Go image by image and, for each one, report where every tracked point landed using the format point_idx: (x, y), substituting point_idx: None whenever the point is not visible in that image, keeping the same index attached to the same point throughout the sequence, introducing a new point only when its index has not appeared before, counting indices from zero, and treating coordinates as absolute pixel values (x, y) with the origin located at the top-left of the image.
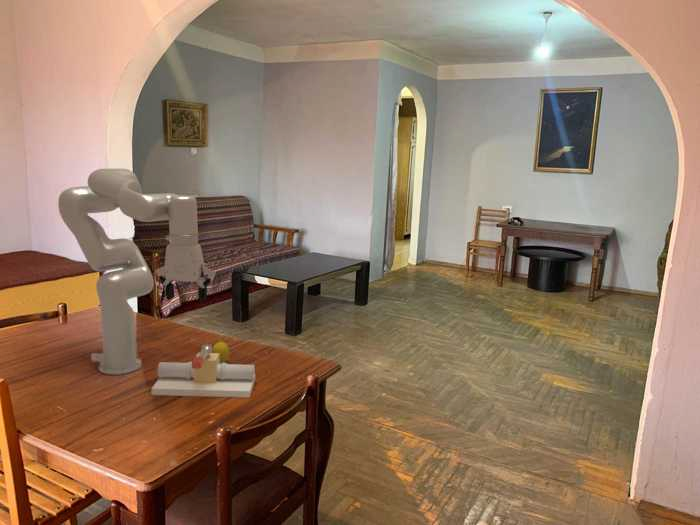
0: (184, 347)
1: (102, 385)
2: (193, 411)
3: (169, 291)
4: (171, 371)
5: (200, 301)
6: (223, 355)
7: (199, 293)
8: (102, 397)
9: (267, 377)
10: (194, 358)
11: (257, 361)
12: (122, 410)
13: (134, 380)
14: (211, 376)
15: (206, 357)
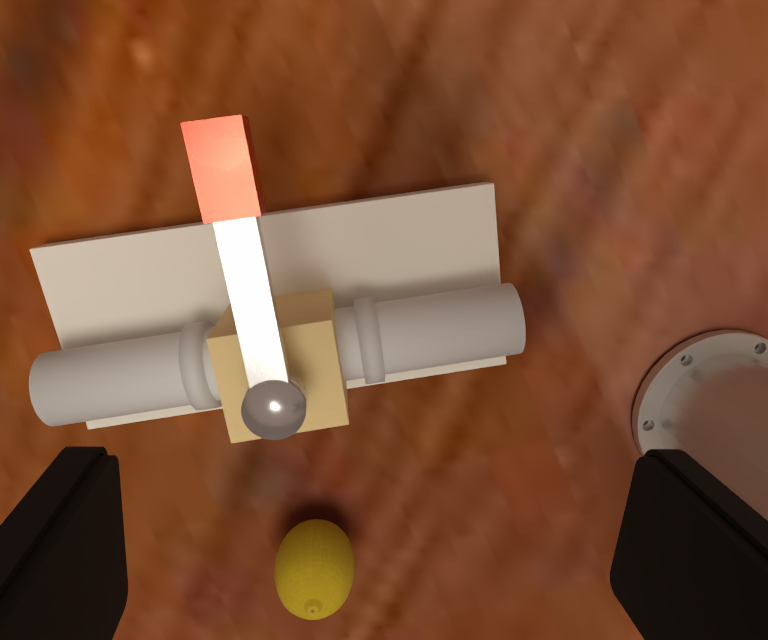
0: (525, 636)
1: (720, 230)
2: (238, 57)
3: (724, 559)
4: (447, 296)
5: (80, 448)
6: (289, 541)
7: (16, 545)
8: (679, 118)
9: None
10: (253, 185)
11: (172, 589)
12: (550, 9)
13: (609, 303)
14: None
15: None
